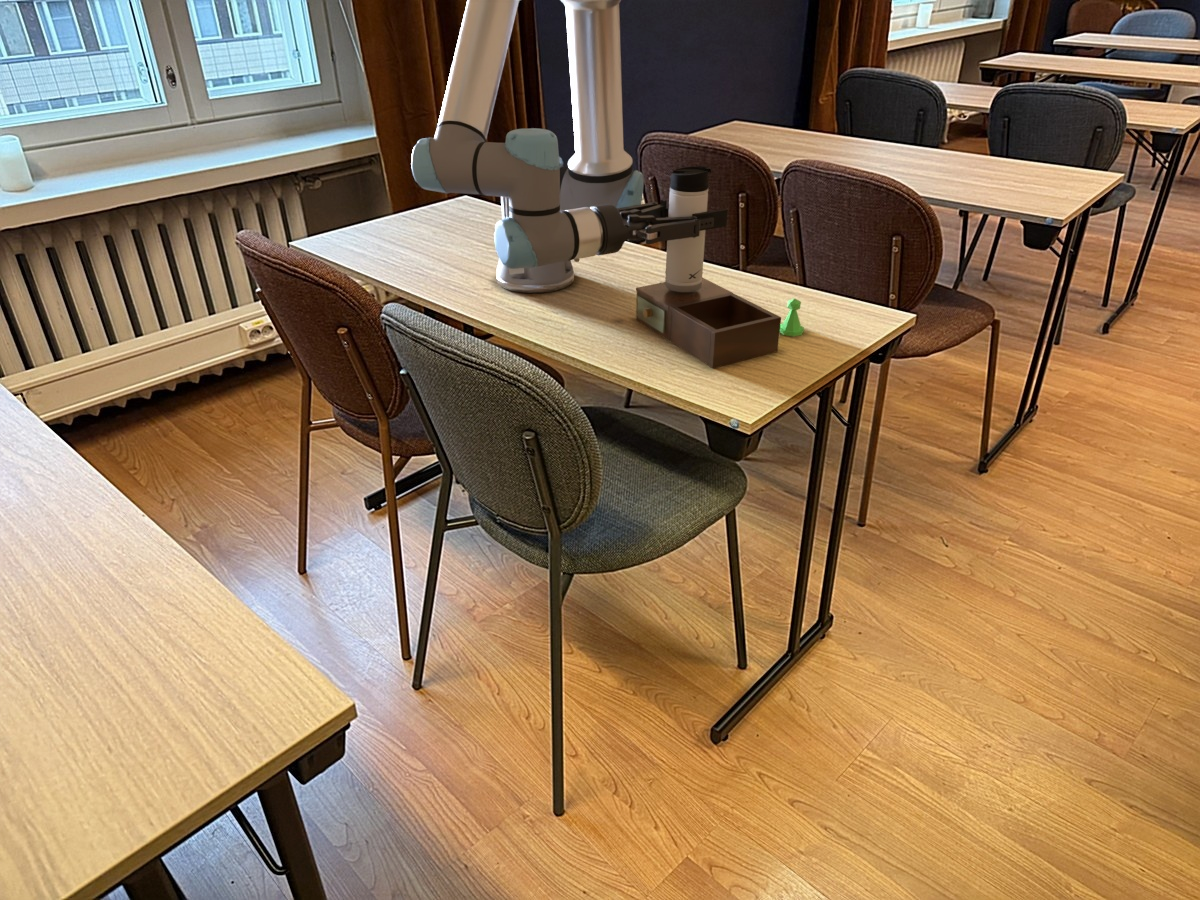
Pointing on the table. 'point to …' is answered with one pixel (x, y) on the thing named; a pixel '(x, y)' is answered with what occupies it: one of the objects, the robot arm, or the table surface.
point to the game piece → (792, 320)
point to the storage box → (709, 322)
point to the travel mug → (689, 252)
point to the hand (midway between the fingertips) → (712, 212)
